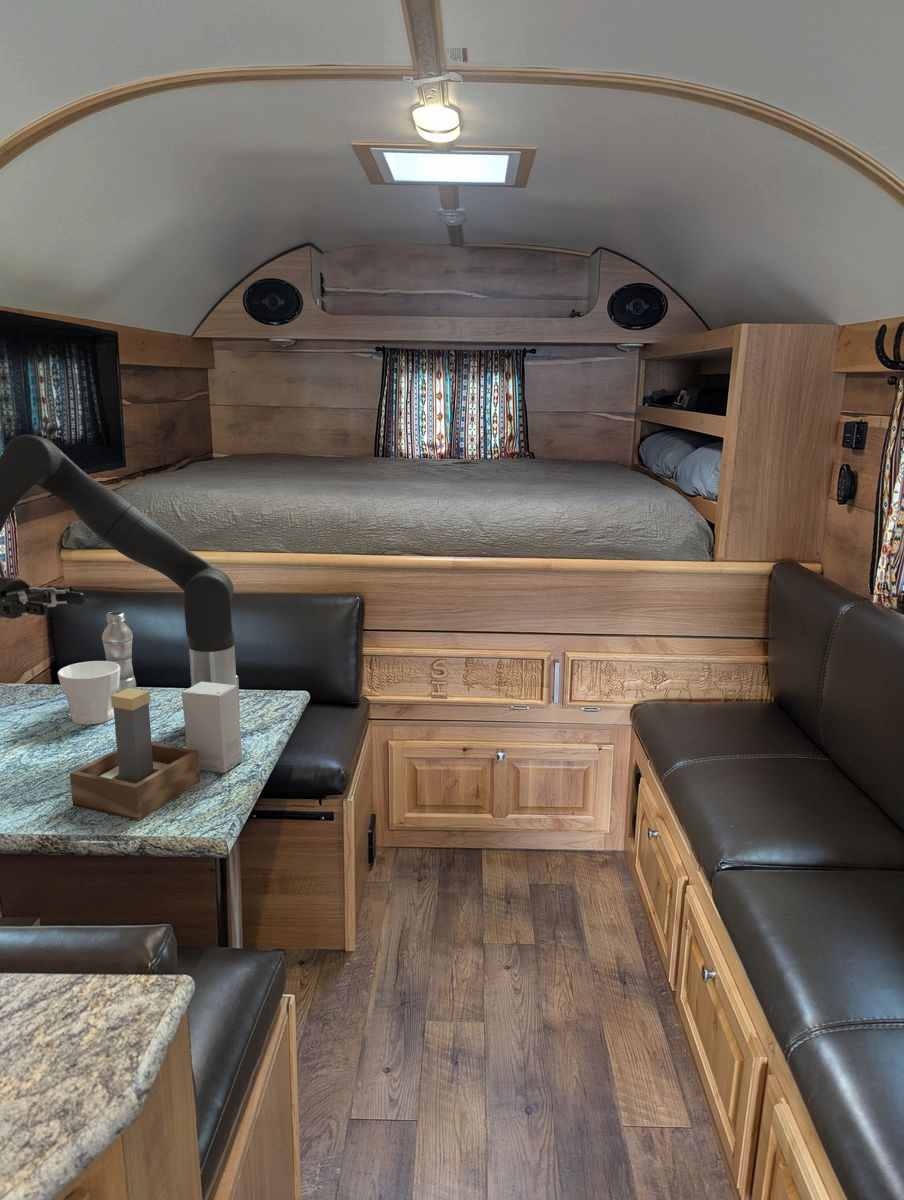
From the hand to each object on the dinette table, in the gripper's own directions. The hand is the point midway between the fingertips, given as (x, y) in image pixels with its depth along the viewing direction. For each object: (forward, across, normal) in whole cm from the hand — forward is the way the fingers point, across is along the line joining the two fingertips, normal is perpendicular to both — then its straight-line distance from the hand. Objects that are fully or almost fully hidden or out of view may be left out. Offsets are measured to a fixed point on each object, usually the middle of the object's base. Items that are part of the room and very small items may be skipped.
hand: (65, 604), depth 151 cm
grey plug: (+18, -5, +31) cm, 36 cm away
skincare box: (+23, +10, +32) cm, 40 cm away
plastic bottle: (-20, +33, +32) cm, 50 cm away
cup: (-16, +20, +32) cm, 41 cm away
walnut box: (+18, -5, +32) cm, 36 cm away
